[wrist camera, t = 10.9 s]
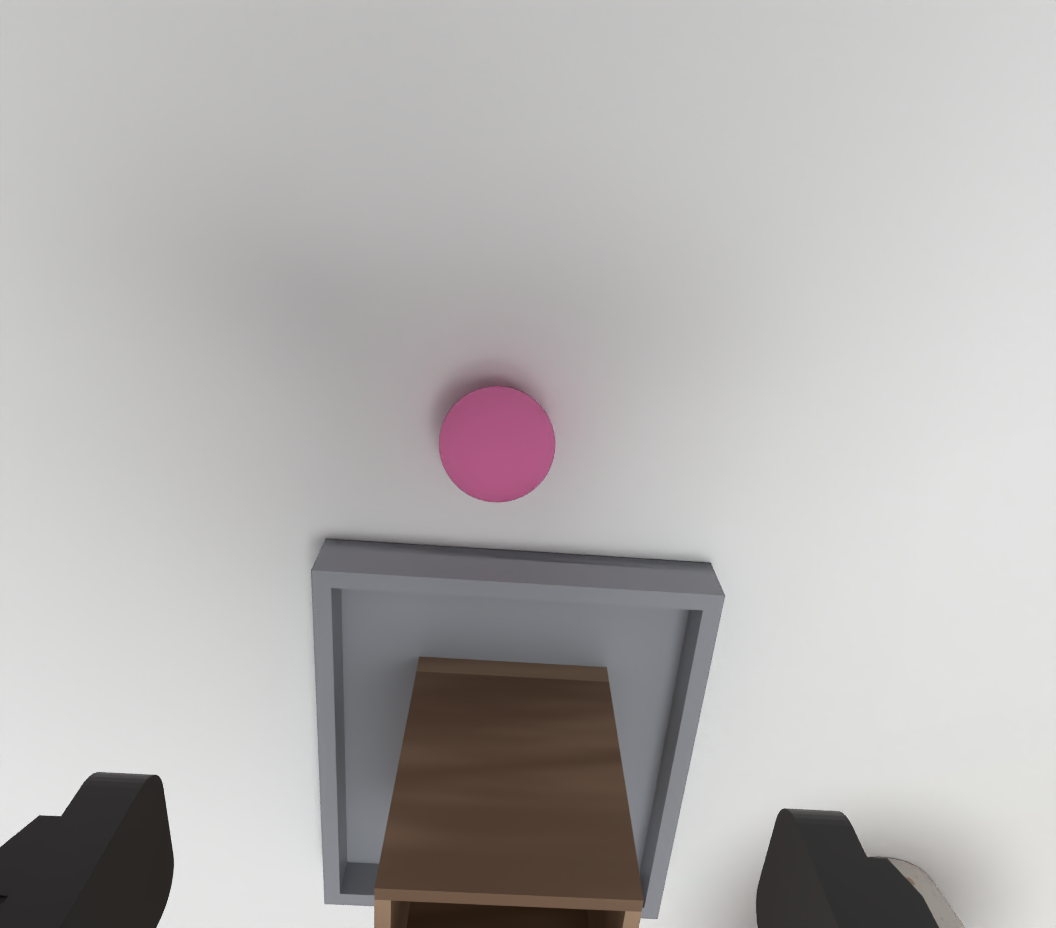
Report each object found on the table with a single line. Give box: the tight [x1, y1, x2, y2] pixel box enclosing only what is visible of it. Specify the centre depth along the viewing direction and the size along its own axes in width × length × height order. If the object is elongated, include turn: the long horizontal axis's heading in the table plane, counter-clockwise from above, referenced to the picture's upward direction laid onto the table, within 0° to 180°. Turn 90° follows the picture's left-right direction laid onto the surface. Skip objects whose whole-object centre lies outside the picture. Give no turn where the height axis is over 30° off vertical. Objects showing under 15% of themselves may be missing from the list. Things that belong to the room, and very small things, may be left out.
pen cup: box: [374, 657, 644, 928], centre depth 24 cm, size 7×7×9 cm
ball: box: [439, 386, 555, 502], centre depth 23 cm, size 3×3×3 cm
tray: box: [311, 539, 725, 919], centre depth 28 cm, size 15×13×2 cm
